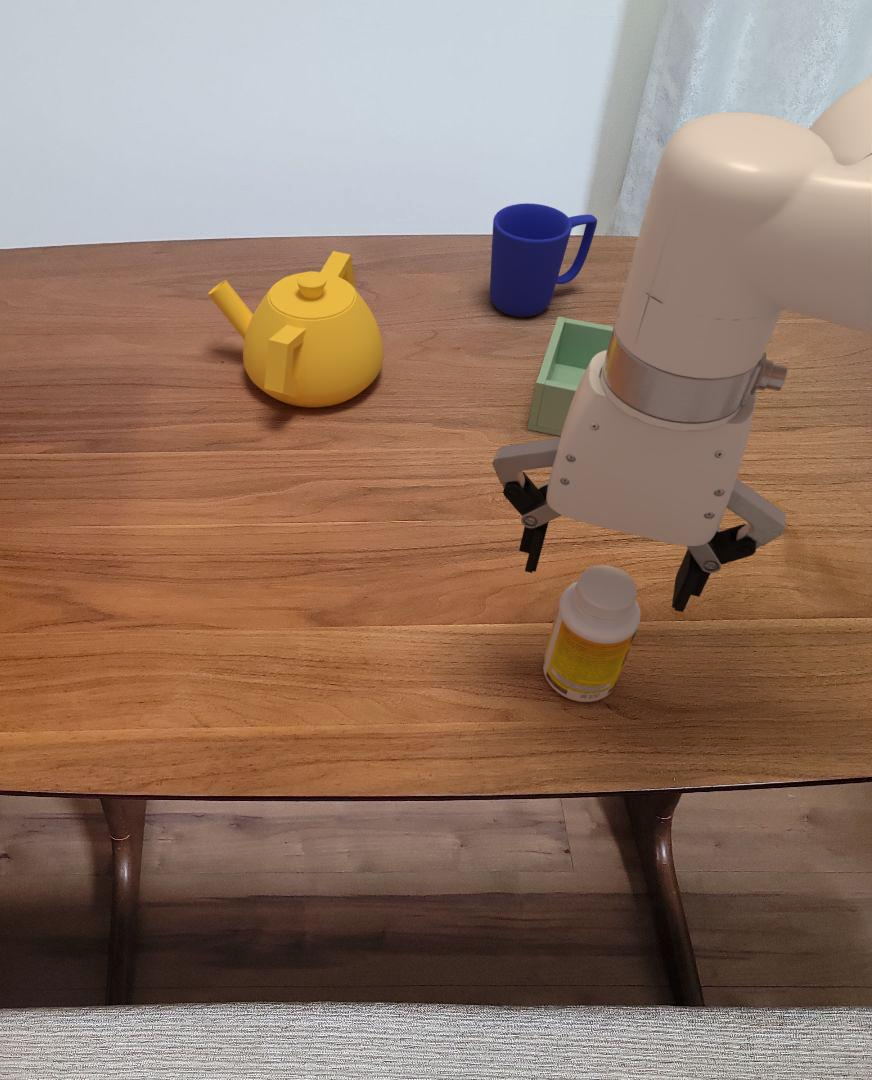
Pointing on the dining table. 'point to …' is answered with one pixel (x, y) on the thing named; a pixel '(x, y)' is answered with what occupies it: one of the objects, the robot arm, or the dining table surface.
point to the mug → (533, 256)
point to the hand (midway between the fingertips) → (604, 576)
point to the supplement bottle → (592, 634)
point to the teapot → (308, 336)
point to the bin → (564, 371)
